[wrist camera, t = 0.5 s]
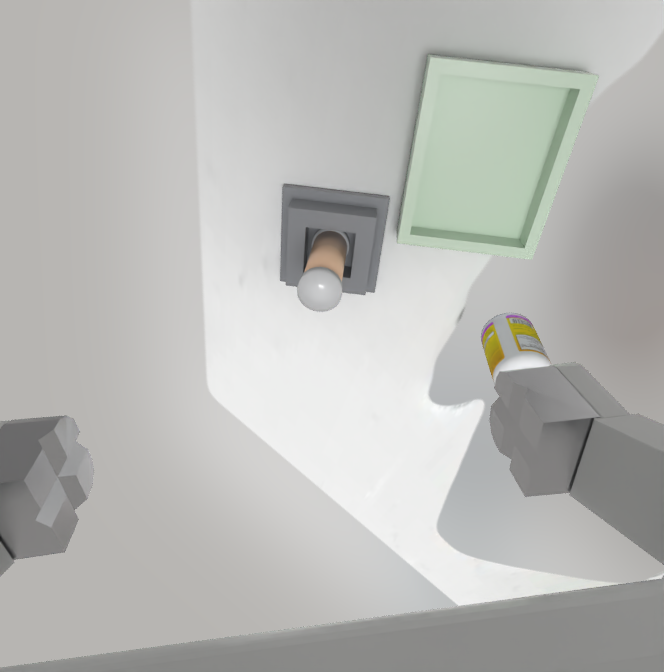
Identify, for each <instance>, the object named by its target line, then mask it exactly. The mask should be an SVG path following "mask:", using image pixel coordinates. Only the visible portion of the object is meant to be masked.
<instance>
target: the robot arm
mask: <svg viewBox="0 0 664 672" xmlns="http://www.w3.org/2000/svg"><path fill="white" fill-rule="evenodd" d="M494 388H495V390H496V392H497V393H498V395H499V396H500V397H499V398H498V399H497V400H496V401H495V403H493V405H492V406H491V412H490V426H491V433H492V436H493V439H494V442H495V444H496V446H497V448H498V450H499V451H500V452H501V453H502V454H504V455H506V456H507V457H509V458H510V459H512V460H511V464H510V471H511V473H512V475H513V476H514V478H515V480H516V482H517V483H518V485H519V487H520V488H521V490H522V492H523V493H524V496H525V497H527V496H539V495H550V494H561V493H570V496H572V497H573V498H574V499H576V500H577V501H579V502H580V503H581V504H582V505H584V506H585V507H586V508H588V509H589V510H591V511H592V512H593V513H595V514H596V515H598V516H599V517H600V518H601V519H603V520H604V521H605V522H607V523H608V524H609V525H611V526H612V527H614V528H615V529H616V530H618V531H619V532H620V533H622V534H623V535H624V536H626V537H627V538H628V539H630V540H631V541H633V542H634V543H635V544H636V545H638V546H639V547H640V548H642V549H643V550H644V551H646V552H648V553H649V554H650V555H651V556H653V557H654V558H655V559H657V560H658V561H659V562H661V563H662V564H663V565H664V425H663V424H661V423H659V422H656V421H654V420H652V419H649V418H647V417H645V416H643V415H640V414H632V415H630V414H629V413H628V412H627V411H626V410H625V409H624V407H622V406H621V404H620V403H618V401H616V399H615V398H614V397H613V396H612V395H611V394H610V393H609V392H608V391H607V390H606V389H605V388H604V387H603V386H602V385H601V384H600V383H599V382H598V381H597V380H596V379H595V378H594V377H593V376H592V375H591V374H590V373H589V372H588V371H587V370H586V369H585V368H584V367H583V366H582V365H581V364H578V363H576V362H571V363H564V364H555V365H550V366H545V367H536V368H527V369H517V370H508V371H500V372H499V374H498V375H497V377H496V382H495V387H494ZM79 433H80V431H79V429H78V427H77V425H76V423H75V421H74V419H73V418H71V417H69V416H56V417H43V418H30V419H19V420H11V421H0V576H1V575H2V574H3V573H4V572H5V571H6V570H7V569H8V568H9V567H10V566H11V565H12V564H13V563H14V560H15V559H22V558H29V557H36V556H43V555H49V554H56V553H63V552H65V551H66V548H67V546H68V543H69V541H70V539H71V536H72V534H73V532H74V529H75V527H76V525H77V522H78V517H77V515H76V513H75V511H74V510H75V509H76V508H77V507H79V506H80V505H81V504H82V503H83V502H84V501H85V500H87V498H88V496H89V493H90V491H91V488H92V484H93V475H94V468H93V462H92V458H91V455H90V453H89V451H88V449H87V448H85V447H83V446H82V445H81V444H79V443H77V442H76V439H77V437H78V435H79ZM0 672H664V576H663V578H662V579H656V580H648V581H641V582H633V583H626V584H618V585H611V586H603V587H596V588H589V589H581V590H574V591H566V592H559V593H551V594H544V595H537V596H529V597H522V598H514V599H507V600H500V601H492V602H485V603H477V604H470V605H463V606H456V607H449V608H441V609H433V610H426V611H419V612H411V613H404V614H396V615H389V616H382V617H375V618H367V619H359V620H352V621H345V622H338V623H330V624H322V625H315V626H307V627H300V628H293V629H285V630H278V631H270V632H263V633H255V634H248V635H240V636H233V637H225V638H218V639H210V640H203V641H195V642H188V643H181V644H173V645H166V646H158V647H151V648H143V649H136V650H129V651H121V652H113V653H106V654H99V655H91V656H84V657H76V658H69V659H61V660H54V661H46V662H39V663H32V664H24V665H17V666H10V667H2V668H0Z"/></svg>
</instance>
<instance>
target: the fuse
mask: <svg viewBox="0 0 664 672" xmlns="http://www.w3.org/2000/svg"><path fill="white" fill-rule="evenodd" d="M349 246H350V240H349V237H348V235H347V233H346V232H341V231H333V230H324V229H319V230H317V232H316V233H315V235H314V237H313V241H312V249H311V253H310V256H309V259H308V262H307V265H306V268H305V272H304V273H303V275H302V276H301V278H300V281H299V284H298V287H297V294H298V298H299V300H300V301H301V303H302V304H303V305H304V306H306V307H307V308H309V309H311V310H313V311H318V312H324V311H328V310H331V309H333V308H334V307H336V306H337V305H338V303H339V302H340V300H341V296H342V290H343V286H342V277H343V271H344V265H345V259H346V256H347V254H348V252H349Z"/></svg>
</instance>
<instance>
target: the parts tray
mask: <svg viewBox="0 0 664 672" xmlns="http://www.w3.org/2000/svg"><path fill="white" fill-rule="evenodd" d="M598 78H599V76H598V75H595V74H592V73H589V72H586V71H577V70H567V69H558V68H549V67H540V66H531V65H522V64H512V63H503V62H494V61H485V60H476V59H466V58H457V57H448V56H439V55H430V54H428V56H427V62H426V68H425V73H424V79H423V85H422V90H421V96H420V102H419V107H418V113H417V119H416V124H415V130H414V136H413V141H412V147H411V153H410V158H409V164H408V170H407V175H406V181H405V187H404V192H403V198H402V204H401V210H400V215H399V221H398V227H397V243H399V244H407V245H415V246H423V247H432V248H440V249H448V250H456V251H465V252H473V253H481V254H490V255H498V256H506V257H515V258H523V259H532V258H533V255H534V253H535V250H536V247H537V245H538V242H539V239H540V236H541V234H542V231H543V228H544V225H545V223H546V220H547V217H548V214H549V212H550V209H551V206H552V203H553V201H554V198H555V195H556V193H557V190H558V187H559V184H560V181H561V179H562V176H563V173H564V171H565V168H566V165H567V162H568V159H569V157H570V154H571V151H572V149H573V146H574V143H575V140H576V138H577V135H578V132H579V130H580V127H581V124H582V121H583V119H584V116H585V113H586V110H587V108H588V105H589V102H590V99H591V97H592V94H593V91H594V89H595V86H596V83H597V80H598Z"/></svg>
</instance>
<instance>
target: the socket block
mask: <svg viewBox="0 0 664 672" xmlns="http://www.w3.org/2000/svg"><path fill="white" fill-rule="evenodd" d="M388 205H389V196H382V195H374V194H365V193H357V192H348V191H340V190H331V189H323V188H314V187H306V186H297V185H289V184H284V185H283V196H282V234H281V272H280V281H284V282H286V285H288V286H296V287H298V284H299V281H300V278H301V276H302V275H303V273H304V272H305V268H306V265H307V262H308V259H309V256H310V253H311V249H312V241H313V237H314V235H315V233H316V232H317V230H319V229H324V230H333V231H341V232H346V233H347V235H348V237H349V240H350V246H349V252H348V254H347V256H346V259H345V265H344V271H343V277H342V286H343V290H342V292H344V293H352V294H360V295H365V293H366V292H373V293H374V292H375V286H376V280H377V273H378V267H379V261H380V255H381V248H382V242H383V236H384V230H385V223H386V217H387V211H388Z"/></svg>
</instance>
